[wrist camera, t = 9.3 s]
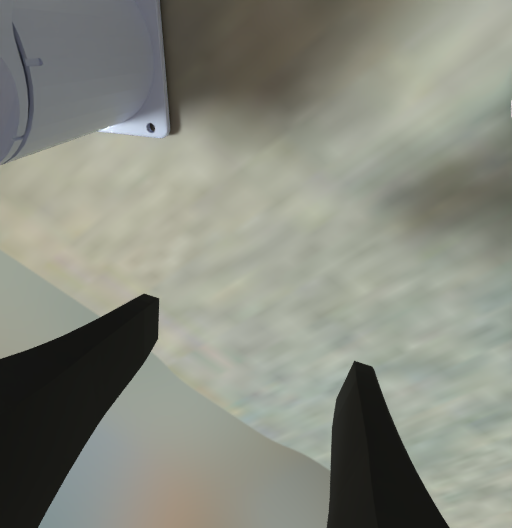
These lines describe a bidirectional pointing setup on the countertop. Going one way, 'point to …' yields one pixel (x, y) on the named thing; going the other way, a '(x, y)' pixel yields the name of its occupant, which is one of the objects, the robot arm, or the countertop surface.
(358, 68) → the countertop surface
